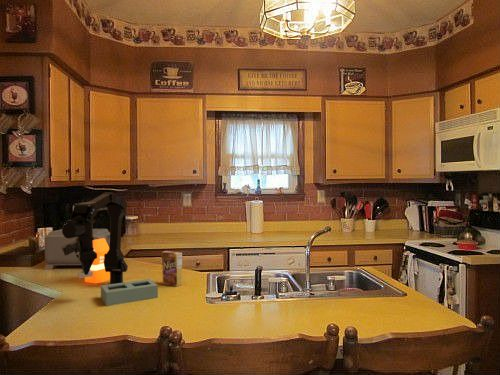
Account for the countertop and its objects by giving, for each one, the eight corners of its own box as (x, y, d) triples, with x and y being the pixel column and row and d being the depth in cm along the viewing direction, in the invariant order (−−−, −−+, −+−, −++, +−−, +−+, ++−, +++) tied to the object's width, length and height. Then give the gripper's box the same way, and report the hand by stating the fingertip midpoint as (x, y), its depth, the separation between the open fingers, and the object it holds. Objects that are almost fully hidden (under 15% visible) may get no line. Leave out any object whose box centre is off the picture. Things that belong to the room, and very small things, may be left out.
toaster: (106, 269, 207) (106, 232, 207) (42, 269, 206) (42, 232, 206) (118, 262, 226) (118, 228, 226) (60, 262, 226) (59, 228, 225)
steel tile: (77, 276, 152) (77, 271, 152) (91, 274, 154) (91, 269, 154) (79, 278, 148) (79, 273, 148) (92, 276, 151) (92, 271, 151)
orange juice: (84, 281, 181) (84, 240, 181) (99, 277, 189) (99, 237, 189) (95, 283, 177) (95, 241, 177) (110, 279, 185) (110, 238, 185)
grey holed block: (100, 297, 155) (100, 285, 154) (149, 290, 165) (149, 279, 165) (106, 306, 144) (106, 292, 144) (157, 297, 155) (157, 285, 155)
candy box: (161, 284, 175) (161, 251, 175) (168, 282, 179) (167, 250, 179) (176, 287, 171) (176, 253, 170) (182, 284, 174) (182, 251, 174)
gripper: (60, 233, 155) (61, 271, 155) (65, 239, 139) (65, 281, 139) (89, 231, 161) (90, 268, 161) (97, 237, 145) (97, 277, 145)
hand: (85, 273), depth 151 cm, fingers closed on steel tile, 4 cm apart
